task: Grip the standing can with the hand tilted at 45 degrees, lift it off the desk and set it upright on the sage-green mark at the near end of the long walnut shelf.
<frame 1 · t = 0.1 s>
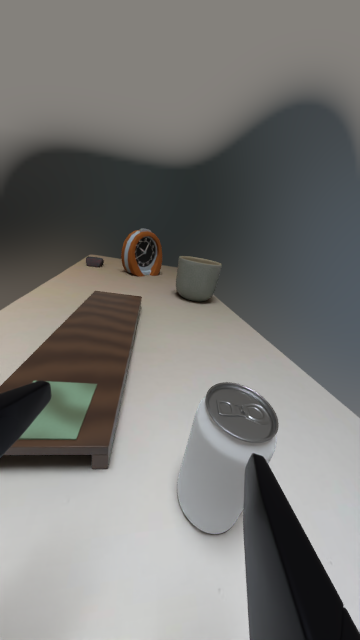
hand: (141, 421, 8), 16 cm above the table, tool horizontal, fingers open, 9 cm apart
shelf: (105, 329, 47), on the table
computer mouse: (95, 264, 111), on the table
planter: (192, 297, 84), on the table
alarm clock: (142, 273, 109), on the table
can: (206, 493, 20), on the table
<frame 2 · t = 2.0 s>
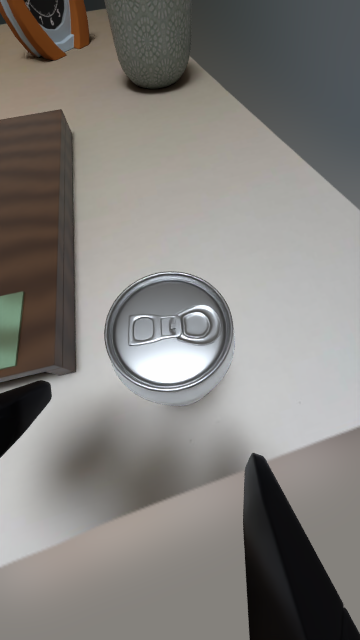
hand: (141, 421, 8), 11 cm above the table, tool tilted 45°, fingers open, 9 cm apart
shelf: (29, 196, 32), on the table
planter: (156, 81, 48), on the table
alarm clock: (62, 50, 60), on the table
can: (180, 370, 20), on the table
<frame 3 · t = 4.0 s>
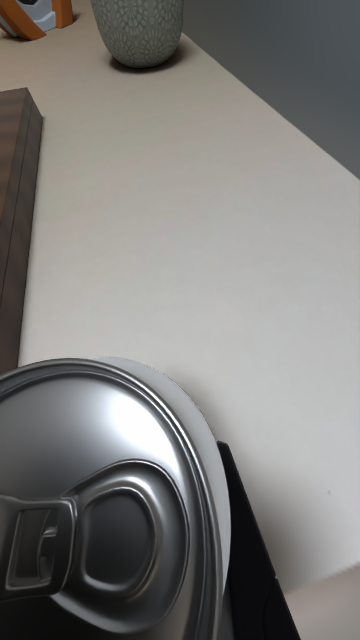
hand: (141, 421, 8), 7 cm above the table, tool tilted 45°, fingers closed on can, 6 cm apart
planter: (145, 60, 42), on the table
alarm clock: (42, 30, 54), on the table
can: (156, 435, 14), on the table, touching gripper
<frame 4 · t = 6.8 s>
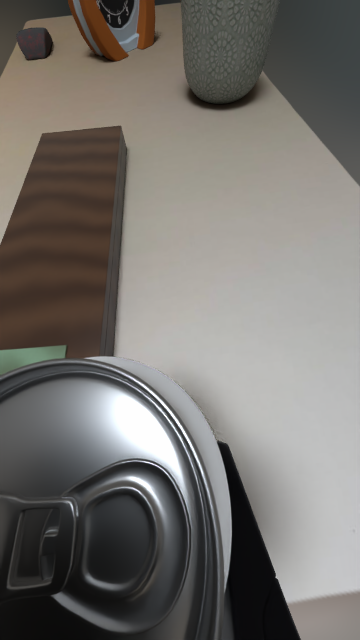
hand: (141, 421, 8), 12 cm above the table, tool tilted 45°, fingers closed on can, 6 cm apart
shelf: (78, 218, 31), on the table
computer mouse: (40, 51, 61), on the table
planter: (220, 94, 45), on the table
alarm clock: (124, 50, 58), on the table
can: (156, 435, 14), point 6 cm above the table, touching gripper
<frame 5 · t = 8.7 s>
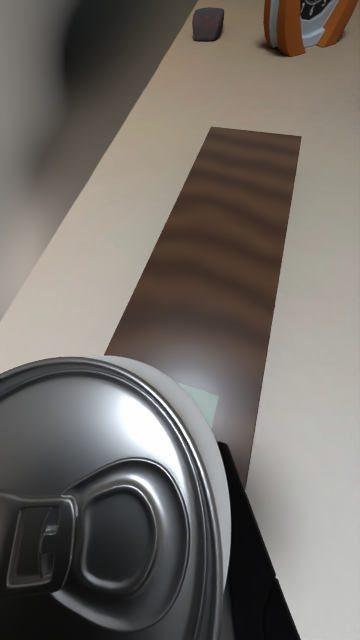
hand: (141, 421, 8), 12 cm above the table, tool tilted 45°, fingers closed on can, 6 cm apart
shelf: (226, 229, 28), on the table
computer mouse: (208, 33, 58), on the table
alarm clock: (301, 45, 52), on the table
can: (156, 435, 14), point 5 cm above the table, touching gripper
when the fingers open (10 cm above the table, at t = 9.8 s): can stays where it is, resting on shelf.
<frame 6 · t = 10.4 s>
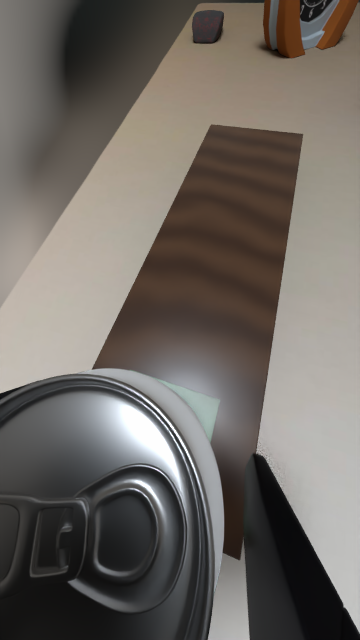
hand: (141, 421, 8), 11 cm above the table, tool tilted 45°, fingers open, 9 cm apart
shelf: (226, 228, 27), on the table
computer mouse: (208, 36, 58), on the table
alarm clock: (300, 47, 52), on the table
can: (157, 438, 14), point 4 cm above the table, touching shelf
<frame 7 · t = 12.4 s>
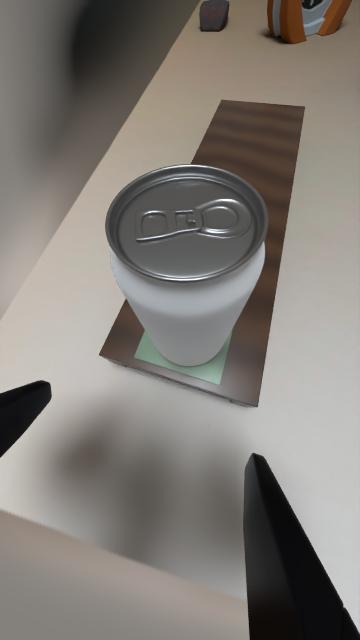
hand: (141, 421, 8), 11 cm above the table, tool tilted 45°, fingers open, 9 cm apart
shelf: (236, 189, 31), on the table
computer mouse: (214, 24, 61), on the table
alarm clock: (302, 34, 55), on the table
can: (188, 332, 18), point 4 cm above the table, touching shelf
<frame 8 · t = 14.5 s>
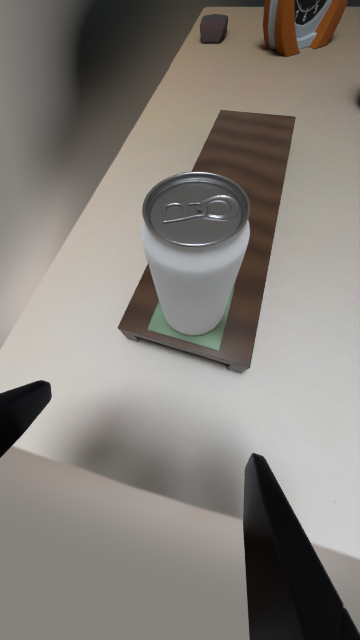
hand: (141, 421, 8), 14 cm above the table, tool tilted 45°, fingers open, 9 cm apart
shelf: (234, 190, 34), on the table
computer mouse: (214, 37, 65), on the table
alarm clock: (295, 47, 59), on the table
can: (192, 309, 21), point 4 cm above the table, touching shelf
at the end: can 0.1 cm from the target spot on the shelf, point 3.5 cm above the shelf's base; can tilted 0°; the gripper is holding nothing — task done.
